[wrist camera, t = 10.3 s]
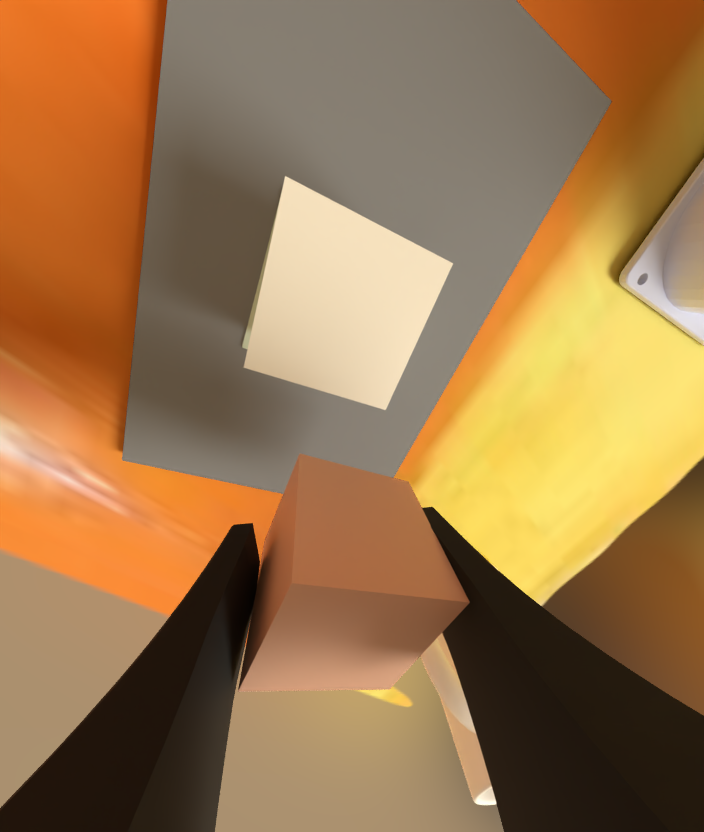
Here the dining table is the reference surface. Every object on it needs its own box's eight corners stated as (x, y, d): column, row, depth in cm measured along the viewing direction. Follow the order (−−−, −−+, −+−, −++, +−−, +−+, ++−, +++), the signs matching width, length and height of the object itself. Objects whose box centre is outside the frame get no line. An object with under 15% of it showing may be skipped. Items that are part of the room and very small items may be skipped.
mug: (357, 583, 21) (395, 811, 12) (434, 520, 19) (549, 735, 10) (444, 620, 26) (520, 803, 17) (513, 573, 24) (640, 751, 15)
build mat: (598, 109, 10) (614, 99, 10) (371, 506, 17) (373, 513, 17) (208, -287, 6) (198, -344, 5) (128, 454, 13) (120, 461, 13)
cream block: (400, 272, 11) (453, 263, 7) (361, 371, 13) (385, 409, 9) (294, 222, 10) (285, 176, 6) (266, 339, 11) (243, 367, 7)
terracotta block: (408, 481, 10) (469, 602, 6) (363, 555, 12) (389, 689, 8) (299, 453, 9) (291, 583, 5) (264, 540, 11) (237, 692, 7)
